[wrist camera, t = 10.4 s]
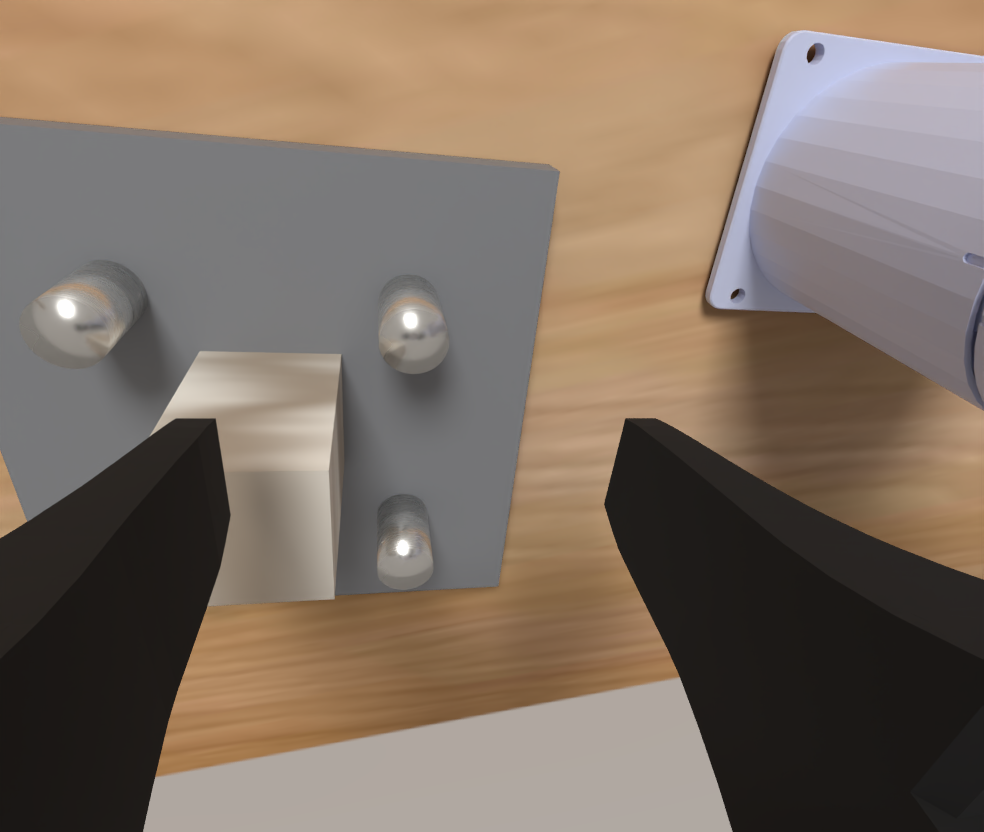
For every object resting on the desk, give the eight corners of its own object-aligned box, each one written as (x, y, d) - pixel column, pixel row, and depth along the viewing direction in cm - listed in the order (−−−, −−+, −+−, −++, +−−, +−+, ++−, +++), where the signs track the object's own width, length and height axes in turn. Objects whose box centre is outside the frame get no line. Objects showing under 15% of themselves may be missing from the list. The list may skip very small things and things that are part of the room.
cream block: (341, 353, 18) (328, 470, 13) (344, 462, 20) (334, 599, 15) (199, 351, 17) (128, 473, 12) (217, 463, 19) (161, 608, 14)
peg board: (548, 164, 17) (590, 191, 14) (493, 565, 25) (511, 643, 22) (-92, 108, 14) (-236, 126, 11) (75, 585, 22) (22, 679, 19)
